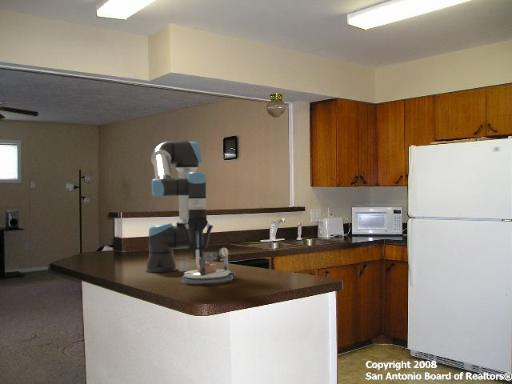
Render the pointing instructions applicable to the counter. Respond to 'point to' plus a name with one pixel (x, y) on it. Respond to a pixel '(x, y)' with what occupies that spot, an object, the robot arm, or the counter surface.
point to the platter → (202, 275)
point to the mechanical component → (209, 256)
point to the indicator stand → (224, 254)
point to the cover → (208, 268)
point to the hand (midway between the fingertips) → (198, 265)
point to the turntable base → (207, 281)
